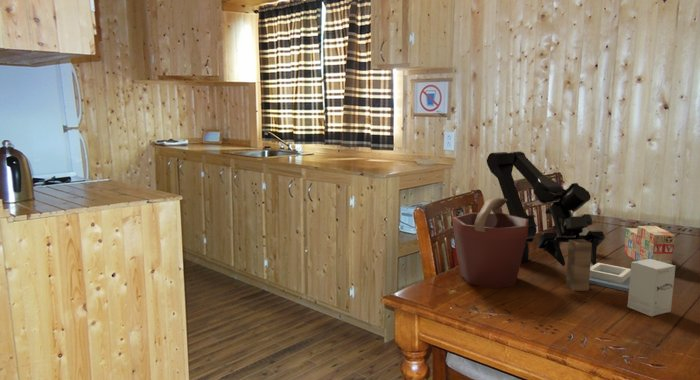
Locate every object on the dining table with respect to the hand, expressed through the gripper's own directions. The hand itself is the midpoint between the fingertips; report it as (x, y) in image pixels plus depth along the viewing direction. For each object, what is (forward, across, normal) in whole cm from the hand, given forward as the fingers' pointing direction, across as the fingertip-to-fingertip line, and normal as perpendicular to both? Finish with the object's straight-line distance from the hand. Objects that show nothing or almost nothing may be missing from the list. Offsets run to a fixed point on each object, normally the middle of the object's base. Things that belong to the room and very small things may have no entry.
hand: (579, 264), depth 150 cm
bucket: (-2, -22, +13) cm, 26 cm away
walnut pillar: (+5, 0, +5) cm, 7 cm away
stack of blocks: (-11, +36, +21) cm, 43 cm away
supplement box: (+17, +10, -7) cm, 21 cm away
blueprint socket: (0, +14, +10) cm, 17 cm away
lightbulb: (-21, +20, +32) cm, 43 cm away
